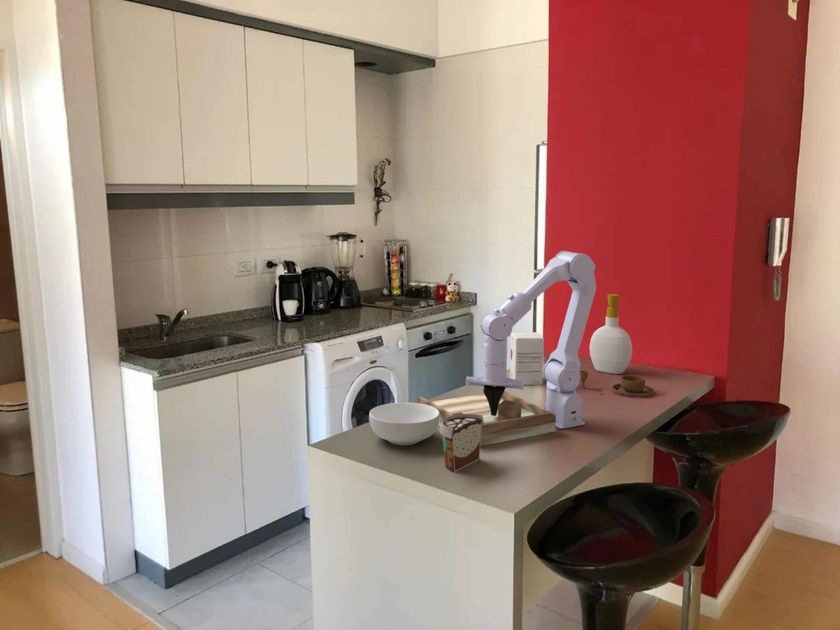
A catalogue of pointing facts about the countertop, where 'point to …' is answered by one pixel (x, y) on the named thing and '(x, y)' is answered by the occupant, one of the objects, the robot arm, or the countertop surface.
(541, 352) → the supplement box
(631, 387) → the place setting
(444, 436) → the food container
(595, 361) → the soap bottle
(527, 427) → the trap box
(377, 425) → the cereal bowl
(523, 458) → the countertop surface
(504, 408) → the walnut block
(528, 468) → the countertop surface
